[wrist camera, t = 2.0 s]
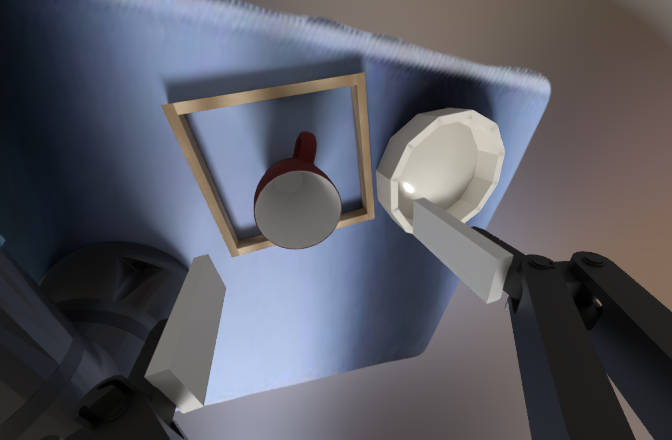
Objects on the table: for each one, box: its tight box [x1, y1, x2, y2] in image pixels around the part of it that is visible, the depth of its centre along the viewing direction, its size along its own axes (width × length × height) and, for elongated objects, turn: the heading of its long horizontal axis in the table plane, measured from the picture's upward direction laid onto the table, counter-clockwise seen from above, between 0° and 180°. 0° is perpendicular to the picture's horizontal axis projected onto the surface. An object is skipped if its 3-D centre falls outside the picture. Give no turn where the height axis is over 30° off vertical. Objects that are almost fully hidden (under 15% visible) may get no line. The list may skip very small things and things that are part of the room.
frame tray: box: [161, 72, 375, 257], centre depth 29 cm, size 20×18×2 cm
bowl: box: [376, 108, 505, 234], centre depth 33 cm, size 17×17×4 cm
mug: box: [254, 132, 342, 249], centre depth 25 cm, size 10×8×10 cm
